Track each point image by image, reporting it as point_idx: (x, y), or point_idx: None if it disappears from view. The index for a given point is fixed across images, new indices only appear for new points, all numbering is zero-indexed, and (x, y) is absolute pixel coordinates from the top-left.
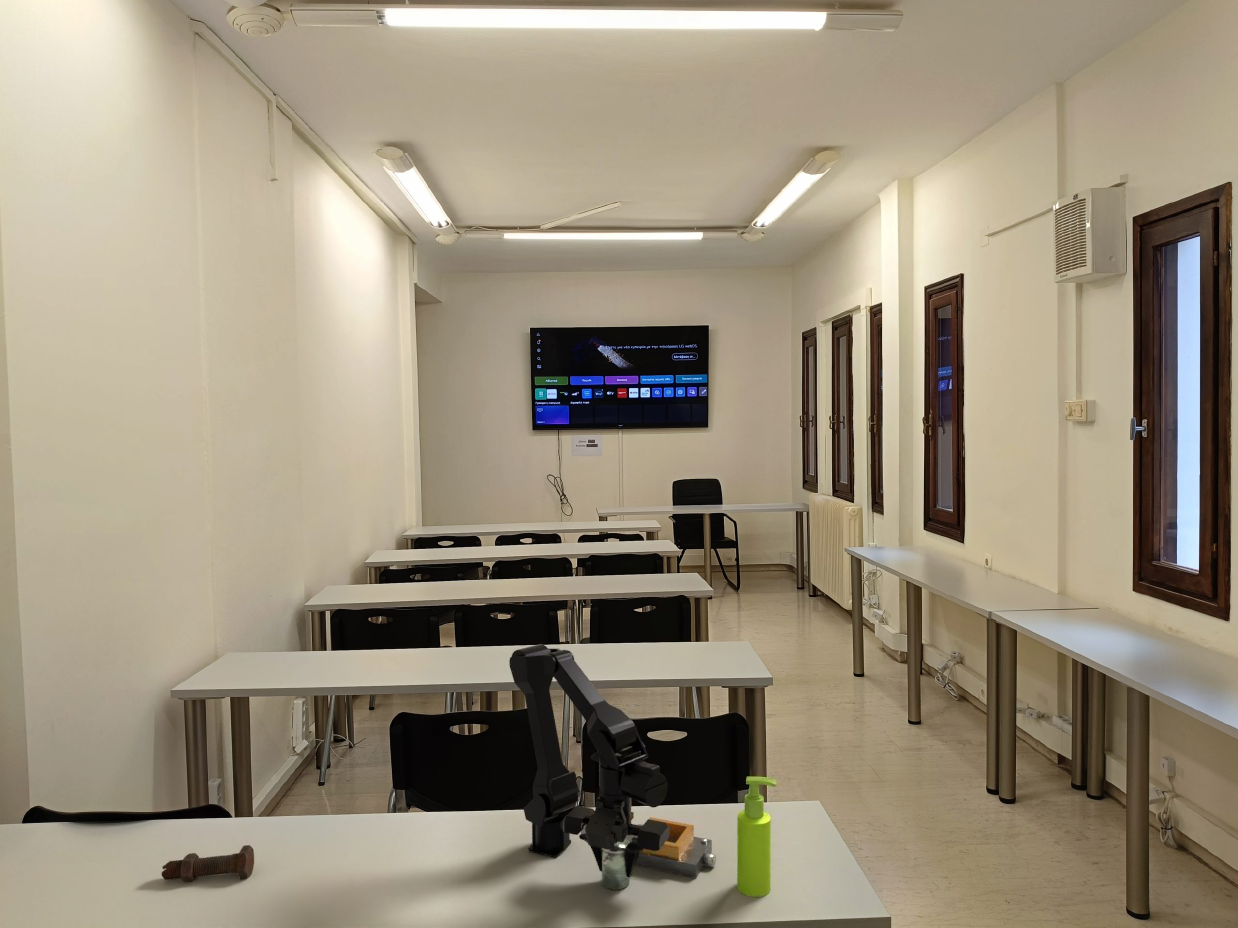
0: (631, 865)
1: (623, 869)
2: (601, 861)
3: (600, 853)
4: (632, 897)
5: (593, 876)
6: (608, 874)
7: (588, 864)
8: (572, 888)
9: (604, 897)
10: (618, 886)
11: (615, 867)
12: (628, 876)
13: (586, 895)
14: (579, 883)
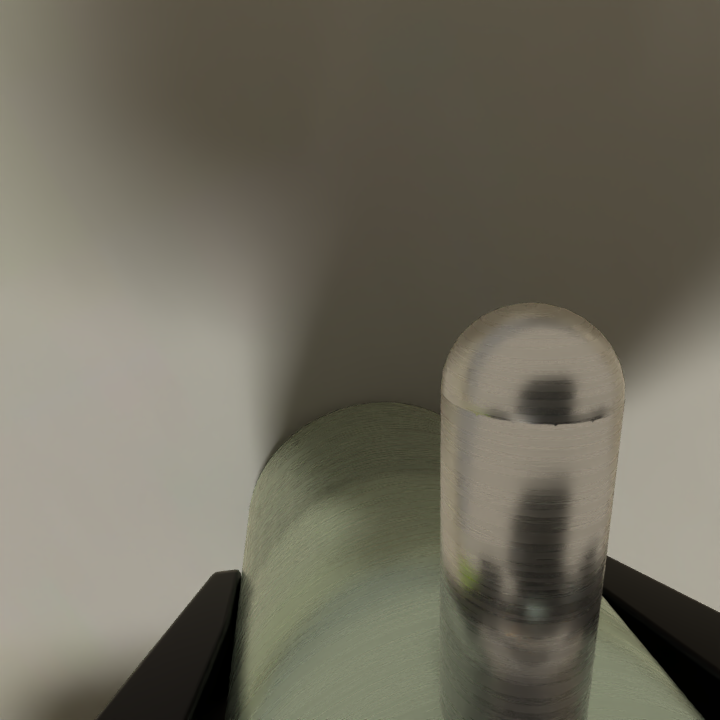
0: (115, 703)
1: (253, 600)
2: None
3: (696, 706)
4: (113, 381)
5: None
6: (426, 464)
7: None
8: (692, 269)
9: (366, 261)
10: (299, 442)
11: (347, 554)
12: (220, 572)
13: (539, 218)
14: (657, 367)
